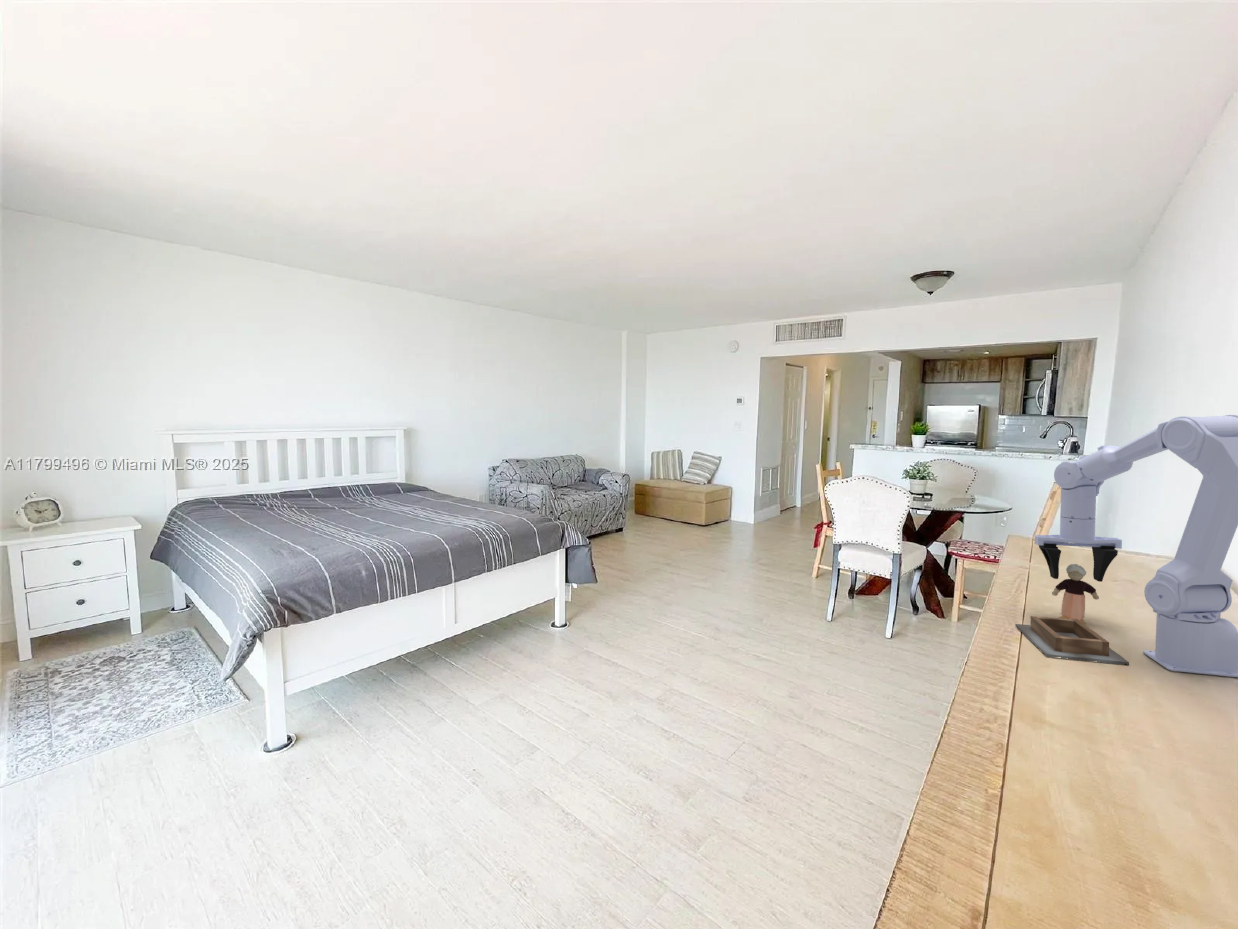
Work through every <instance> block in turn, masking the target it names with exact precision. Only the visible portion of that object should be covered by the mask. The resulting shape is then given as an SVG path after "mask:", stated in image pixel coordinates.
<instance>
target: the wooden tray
mask: <svg viewBox="0 0 1238 929" xmlns="http://www.w3.org/2000/svg"><path fill="white" fill-rule="evenodd" d="M1029 622H1030V624H1021V623H1020V624H1019V623H1015V624H1014V625H1015V626H1016V627H1017V628H1018V629H1019V630H1020V631H1021V632H1022V633H1023V634H1024V637H1026V639H1027V640H1029V642H1030V643H1032V644H1033V643H1034V644H1035V645H1034V644H1033V645H1034V646H1035V647H1036V648H1037V647H1038V648H1039V649H1040V650H1041V651H1042V652H1043V653H1044V654H1045V655H1046V656H1047V657H1046V656H1045V655H1044V654H1043V653H1042V652H1041V651H1040V650H1039V649H1038V648H1037V649H1038V650H1039V651H1040V652H1041V653H1042V654H1043V655H1044V656H1045V657H1046V658H1049V657H1061V658H1068V659H1067V660H1069V659H1073V660H1072V661H1079V660H1081V662H1089V661H1097V662H1096V663H1099V662H1102V664H1109V663H1112V665H1119V664H1127V665H1126V666H1130V662H1129V661H1128V660H1127V659H1125V658H1124V657H1123V656H1121V654H1119V653H1117V652H1116V651H1115V650H1113V649H1112V648H1111V647H1110V641H1108V640H1107V639H1106V638H1104V637H1103V636H1101V635H1099V633H1097V632H1096V631H1094V630H1093V628H1090V627H1089V626H1087V625H1086V623H1085V624H1083V623H1082V622H1080V621H1079V620H1075V619H1062V618H1060V617H1047V616H1036V615H1035V616H1033V615H1030V621H1029ZM1015 626H1014V627H1015ZM1016 627H1015V628H1016ZM1017 628H1016V629H1017ZM1018 629H1017V630H1018ZM1019 630H1018V631H1019ZM1020 631H1019V632H1020ZM1021 632H1020V633H1021ZM1022 633H1021V634H1022ZM1023 634H1022V635H1023ZM1103 662H1104V663H1103Z"/></svg>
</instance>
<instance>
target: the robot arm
mask: <svg viewBox="0 0 1238 929" xmlns="http://www.w3.org/2000/svg"><path fill="white" fill-rule="evenodd" d="M1157 425H1158V426H1157V427H1155V428H1154V429H1152V430H1151V431H1149V432H1147V433H1145V434H1142V435H1140V436H1139V437H1137V438H1135V439H1133V440H1131V441H1129V442H1127V443H1125V444H1124V445H1121V446H1118V445H1109V444H1108V445H1106V444H1105V445H1100V446H1098V447H1097V451H1095V452H1092V453H1091V454H1088V455H1082V456H1079V457H1078V459H1077V460H1076V461H1074V462H1073V461H1067V460H1066V461H1062V462H1061V463H1059V464H1058V465H1057V466H1055V469H1054V473H1053V477H1054V481H1055V483H1056V485H1058V487H1059V488H1060V510H1059V511H1060V516H1059V517H1060V519H1059V522H1060V523H1059V528H1060V529H1059V534H1034V544H1035V545H1037V546H1038V547H1039V549H1040V551H1041V553H1042V555H1043V557H1044V560H1045V561H1046V563H1047V567H1048V570H1049V575H1050V576H1049V577H1051V578H1052V579H1054V580H1059V577H1060V575H1059V574H1060V559H1061V554H1062V550H1061V549H1059V547H1058V546H1060V547H1061V546H1063V547H1065V546H1066V547H1085V548H1087V547H1091V550H1092V555H1093V571H1092V572H1093V574H1092V575H1093V576H1092V577H1093V580H1095V581H1097V582H1099V583H1101V582H1103V580H1104V577H1105V575H1106V572H1107V571H1108V567H1109V566H1110V565H1111V563H1112V562H1113V561H1114V560H1115V559H1116V557H1117V556H1118V554H1119V551H1118V550H1117V549H1119V550H1121V549H1122V546H1123V544H1122V543H1123V540H1122V539H1120V538H1118V537H1105V536H1096V511H1097V510H1096V509H1097V507H1096V505H1097V496H1099V494H1100V489H1101V486H1102V485H1103V484H1104V482H1105V481H1107V480H1108V479H1109V480H1110V479H1111V478H1114V477H1116V476H1118V475H1121V474H1124V473H1126V472H1129V471H1131V469H1132V467H1133V465H1134V462H1136V461H1139V460H1142V459H1145V458H1148V457H1151V456H1153V455H1156V454H1160V453H1162V452H1165V451H1168V450H1169V451H1170V452H1172V454H1175V455H1176V456H1177V457H1179V458H1180V459H1181V460H1183V461H1184V462H1186V463H1187V464H1189V466H1191V467H1193V468H1194V469H1197V470H1198V472H1200V473H1201V475H1202V480H1201V482H1200V485H1199V488H1198V490H1197V493H1196V496H1195V499H1194V502H1193V505H1192V507H1191V510H1190V513H1189V516H1188V518H1187V521H1186V524H1185V527H1184V530H1183V533H1182V536H1181V539H1180V541H1179V545H1178V547H1177V550H1176V553H1175V555H1174V558H1173V559H1172V560H1171V561H1169V562H1167V563H1166V564H1163V565H1162V566H1161V567H1159V568H1158V569H1157V570H1156V573H1155V575H1154V577H1153V578H1152V579H1150V580H1149V581H1148V582H1147V583H1146V584H1145V586H1144V598H1145V600H1146V602H1147V604H1148V605H1149V606H1150V607H1151V608H1152V612H1153V613H1156V621H1155V622H1156V623H1155V645H1154V646H1155V649H1154V650H1148V649H1147V650H1146V649H1144V650H1143V651H1142V653H1143V654H1145V656H1147V657H1149V658H1151V659H1152V660H1153V661H1155V662H1156V663H1157V664H1158V665H1161V666H1162V667H1164V668H1165V669H1167V670H1168V671H1172V672H1181V673H1189V674H1201V675H1210V676H1220V677H1221V676H1222V677H1230V678H1231V677H1232V678H1238V629H1237V627H1236V625H1235V624H1234V623H1233V622H1231V621H1230V620H1228V619H1226V618H1223V617H1221V616H1222V614H1221V613H1224V612H1226V611H1227V610H1229V608H1230V607H1231V605H1232V602H1233V601H1232V598H1233V597H1232V593H1231V586H1232V584H1233V579H1232V578H1231V577H1230V576H1229V575H1228V574H1227V573H1225V572H1224V571H1223V570H1222V568H1223V564H1224V562H1225V560H1226V558H1227V554H1228V551H1229V549H1230V547H1231V544H1232V541H1233V539H1234V537H1235V533H1236V531H1237V528H1238V414H1237V415H1236V414H1228V415H1218V416H1217V415H1216V416H1215V415H1214V416H1213V415H1212V416H1210V415H1209V416H1208V415H1207V416H1187V415H1186V416H1185V415H1184V416H1183V415H1182V416H1177V417H1173V418H1171V419H1170V420H1169V421H1165V422H1161V423H1159V424H1157Z"/></svg>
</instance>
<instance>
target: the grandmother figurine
mask: <svg viewBox="0 0 1238 929" xmlns="http://www.w3.org/2000/svg"><path fill="white" fill-rule="evenodd" d="M1065 569H1066V570H1065V571H1066V574H1067V576H1068V578H1064V579H1063V580H1062V581H1060V582H1059V583H1058V584H1056V586H1055V587H1054V589H1053V590H1052V592H1051V594H1052V596H1055V597H1057V596H1058V595H1059V593H1060V592H1061V591H1064V592H1063V597H1062V603H1061V609H1060V610H1061V612H1060V615H1061V616H1060V617H1059V618H1062V619H1075V620H1079V621H1080V622H1082V623H1083V624H1085V625H1086V624H1087V623H1086V621H1085V619H1084V618H1085V614H1086V612H1085V611H1086V595H1085V593H1088V594H1090V596H1092V599H1093V600H1099V599H1100V597H1099V595H1098V593H1097V589H1096V588H1094V586H1093V585H1091V584H1090V583H1088V582H1086V581H1083V580H1082V579H1083V578H1084V577H1085V576H1086V575H1087V571H1086V569H1085V568H1084V567H1083V566H1081V565H1079V564H1077V563H1070V564H1069V565H1068V566H1067V567H1066V568H1065Z"/></svg>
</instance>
